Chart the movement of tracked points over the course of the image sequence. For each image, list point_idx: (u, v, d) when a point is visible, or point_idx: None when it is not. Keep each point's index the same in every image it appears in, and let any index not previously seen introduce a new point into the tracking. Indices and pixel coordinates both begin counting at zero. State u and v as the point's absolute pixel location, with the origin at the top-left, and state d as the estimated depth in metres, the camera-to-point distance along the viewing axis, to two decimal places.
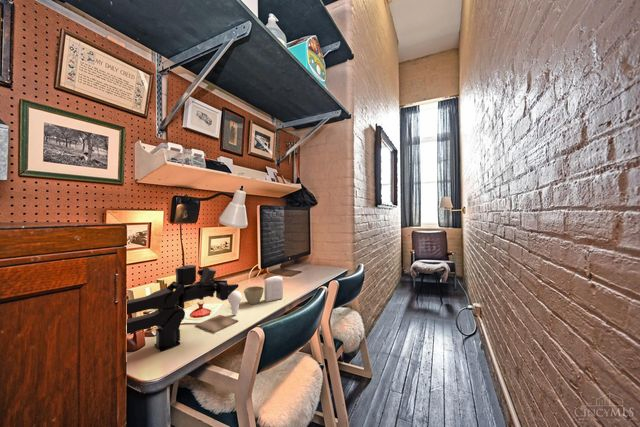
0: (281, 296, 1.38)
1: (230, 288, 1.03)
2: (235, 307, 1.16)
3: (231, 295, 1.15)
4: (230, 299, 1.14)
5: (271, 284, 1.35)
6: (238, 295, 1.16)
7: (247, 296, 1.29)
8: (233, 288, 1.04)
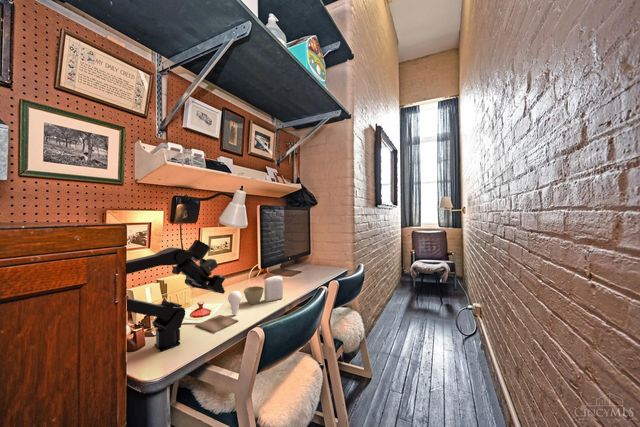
0: (281, 296, 1.38)
1: (219, 288, 1.03)
2: (235, 307, 1.16)
3: (231, 295, 1.15)
4: (230, 299, 1.14)
5: (271, 284, 1.35)
6: (238, 295, 1.16)
7: (247, 296, 1.29)
8: (221, 290, 1.04)
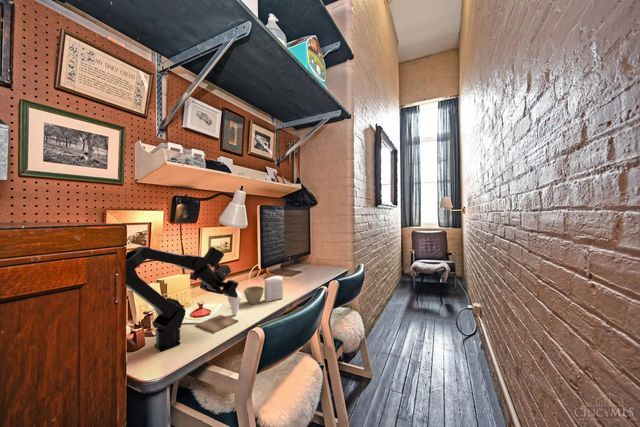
0: (281, 296, 1.38)
1: (233, 292, 1.09)
2: (235, 307, 1.16)
3: None
4: (230, 299, 1.14)
5: (271, 284, 1.35)
6: (238, 295, 1.16)
7: (247, 296, 1.29)
8: (234, 294, 1.10)
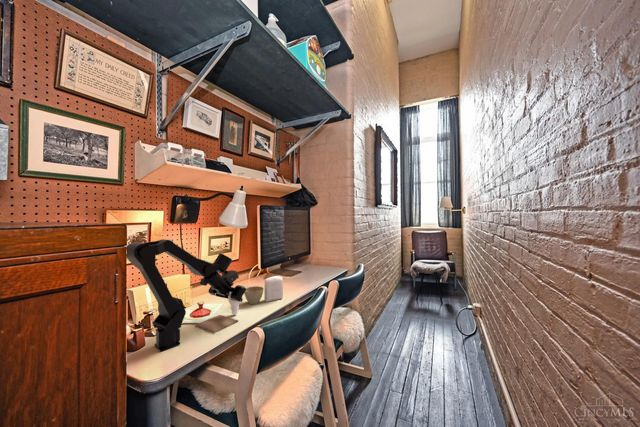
0: (281, 296, 1.38)
1: None
2: (235, 307, 1.16)
3: None
4: (230, 299, 1.14)
5: (271, 284, 1.35)
6: None
7: (247, 296, 1.29)
8: (239, 299, 1.14)
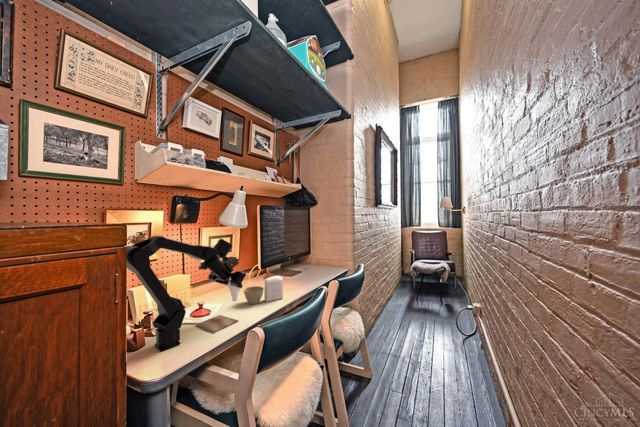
0: (281, 296, 1.38)
1: None
2: (235, 293, 1.16)
3: None
4: (230, 285, 1.14)
5: (271, 284, 1.35)
6: None
7: (247, 296, 1.29)
8: (239, 285, 1.14)
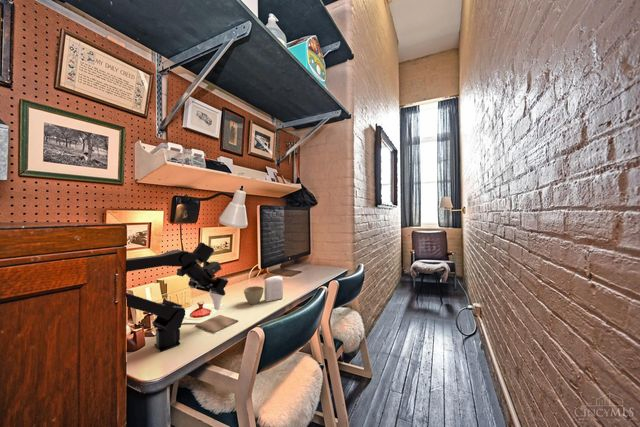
0: (281, 296, 1.38)
1: None
2: (217, 301, 1.07)
3: None
4: (211, 293, 1.06)
5: (271, 284, 1.35)
6: None
7: (247, 296, 1.29)
8: (221, 292, 1.06)
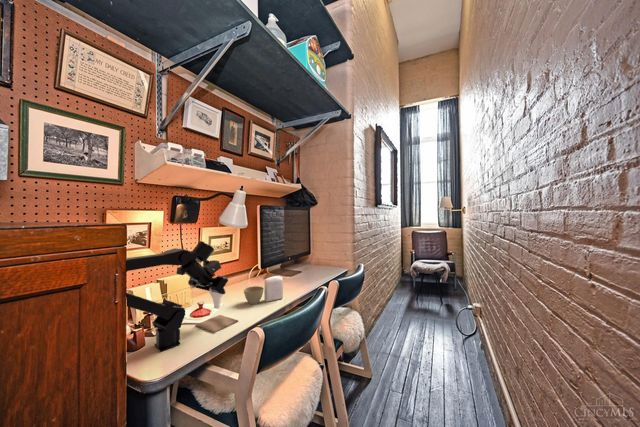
0: (281, 296, 1.38)
1: None
2: (217, 300, 1.07)
3: None
4: None
5: (271, 284, 1.35)
6: None
7: (247, 296, 1.29)
8: (221, 291, 1.06)
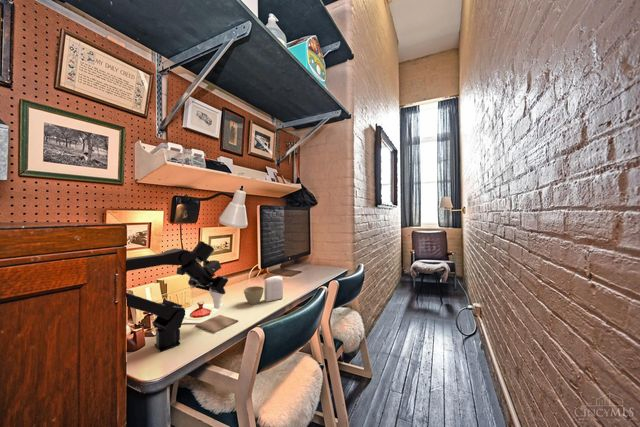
0: (281, 296, 1.38)
1: None
2: (217, 300, 1.07)
3: None
4: None
5: (271, 284, 1.35)
6: None
7: (247, 296, 1.29)
8: (221, 291, 1.06)
